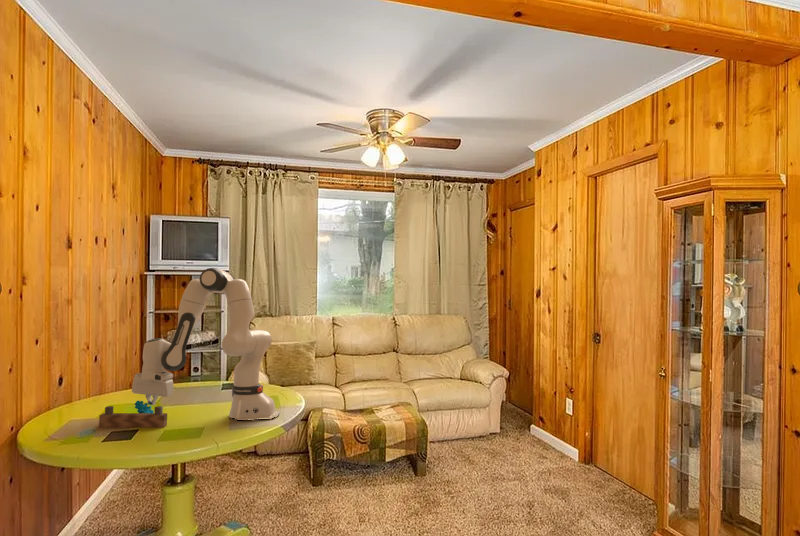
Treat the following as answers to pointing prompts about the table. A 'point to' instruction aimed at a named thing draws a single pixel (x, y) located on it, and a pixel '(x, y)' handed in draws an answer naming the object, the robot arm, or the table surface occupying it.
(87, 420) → the table surface
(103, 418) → the stop bar
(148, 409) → the gear
